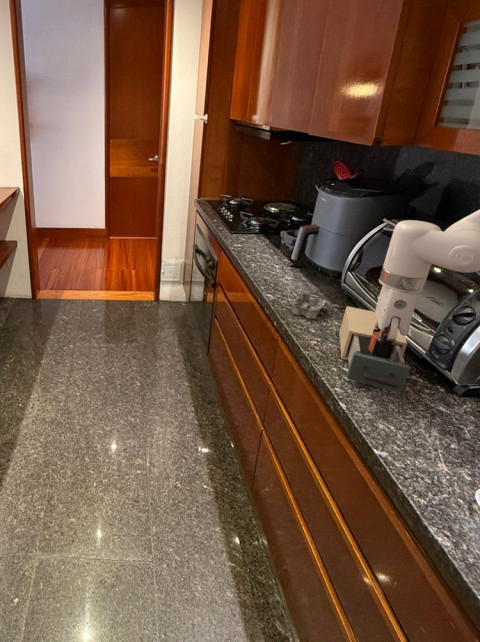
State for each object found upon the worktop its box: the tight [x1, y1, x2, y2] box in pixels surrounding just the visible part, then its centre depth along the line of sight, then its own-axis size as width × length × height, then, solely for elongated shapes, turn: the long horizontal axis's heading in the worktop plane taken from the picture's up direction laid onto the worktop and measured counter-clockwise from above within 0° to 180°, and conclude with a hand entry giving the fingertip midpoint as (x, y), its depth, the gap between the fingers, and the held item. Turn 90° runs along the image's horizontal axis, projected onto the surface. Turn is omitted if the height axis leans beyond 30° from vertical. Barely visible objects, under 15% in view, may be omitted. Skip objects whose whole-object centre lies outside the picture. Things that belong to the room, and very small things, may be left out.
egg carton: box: [291, 289, 327, 320], centre depth 118 cm, size 11×8×4 cm
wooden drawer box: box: [339, 305, 408, 361], centre depth 98 cm, size 13×11×8 cm
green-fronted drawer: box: [346, 334, 411, 394], centre depth 89 cm, size 17×10×7 cm, turn 152°
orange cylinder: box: [368, 332, 388, 352], centre depth 88 cm, size 4×4×4 cm
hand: (379, 350), depth 89 cm, fingers closed on orange cylinder, 4 cm apart
